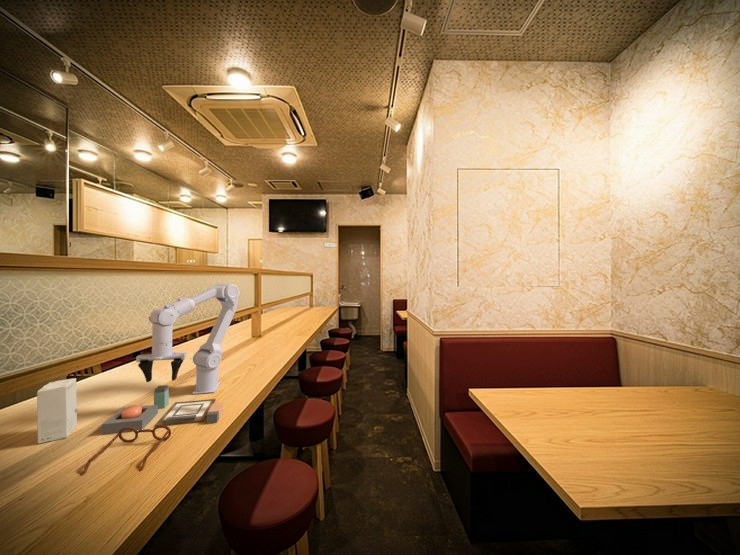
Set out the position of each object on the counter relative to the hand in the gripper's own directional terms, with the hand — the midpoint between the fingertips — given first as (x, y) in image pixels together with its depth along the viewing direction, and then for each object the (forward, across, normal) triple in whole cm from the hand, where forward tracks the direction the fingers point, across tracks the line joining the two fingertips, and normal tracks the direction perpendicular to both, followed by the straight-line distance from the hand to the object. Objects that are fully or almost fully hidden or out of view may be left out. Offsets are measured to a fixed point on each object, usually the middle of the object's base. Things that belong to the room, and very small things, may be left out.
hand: (161, 380), depth 96 cm
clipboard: (+9, +10, -6) cm, 16 cm away
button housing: (+9, -4, -10) cm, 14 cm away
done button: (+8, -4, -10) cm, 13 cm away
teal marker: (+9, 0, 0) cm, 9 cm away
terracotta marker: (+10, +20, -12) cm, 25 cm away
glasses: (+10, +4, -27) cm, 29 cm away
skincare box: (+10, -21, -12) cm, 26 cm away
